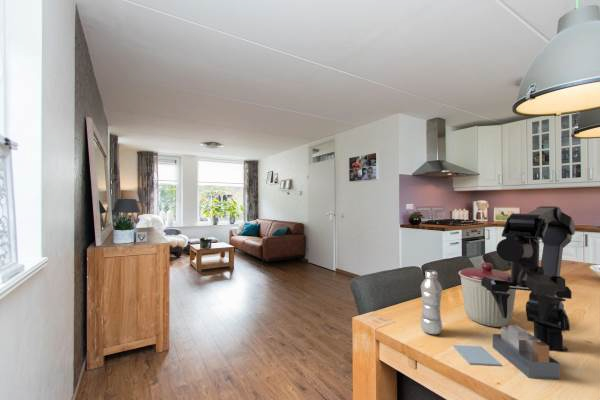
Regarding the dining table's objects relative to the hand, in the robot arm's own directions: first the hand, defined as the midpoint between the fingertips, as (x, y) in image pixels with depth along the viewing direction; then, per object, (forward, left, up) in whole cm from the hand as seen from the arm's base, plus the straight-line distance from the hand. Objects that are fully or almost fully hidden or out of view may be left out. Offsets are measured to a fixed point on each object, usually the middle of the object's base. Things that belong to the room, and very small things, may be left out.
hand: (523, 319), depth 71 cm
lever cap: (-3, +1, -8) cm, 8 cm away
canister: (-28, +7, -12) cm, 31 cm away
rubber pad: (-4, -10, -12) cm, 16 cm away
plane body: (-2, +1, -12) cm, 12 cm away
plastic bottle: (-17, -17, -12) cm, 27 cm away
